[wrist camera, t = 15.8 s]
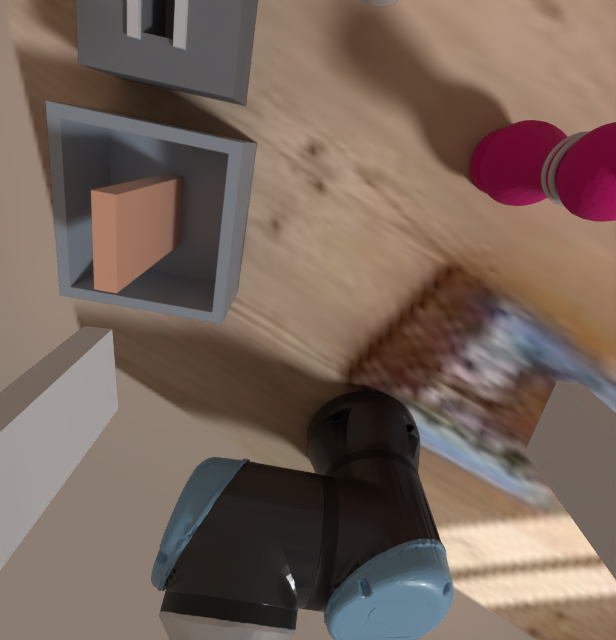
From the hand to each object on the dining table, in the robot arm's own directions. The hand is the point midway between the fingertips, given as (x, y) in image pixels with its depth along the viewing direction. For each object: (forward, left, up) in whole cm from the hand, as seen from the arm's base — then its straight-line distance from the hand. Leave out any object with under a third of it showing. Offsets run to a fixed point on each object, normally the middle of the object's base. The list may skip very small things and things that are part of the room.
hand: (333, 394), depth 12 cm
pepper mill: (+9, -17, -33) cm, 38 cm away
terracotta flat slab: (-2, +15, -32) cm, 35 cm away
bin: (-2, +15, -33) cm, 36 cm away
